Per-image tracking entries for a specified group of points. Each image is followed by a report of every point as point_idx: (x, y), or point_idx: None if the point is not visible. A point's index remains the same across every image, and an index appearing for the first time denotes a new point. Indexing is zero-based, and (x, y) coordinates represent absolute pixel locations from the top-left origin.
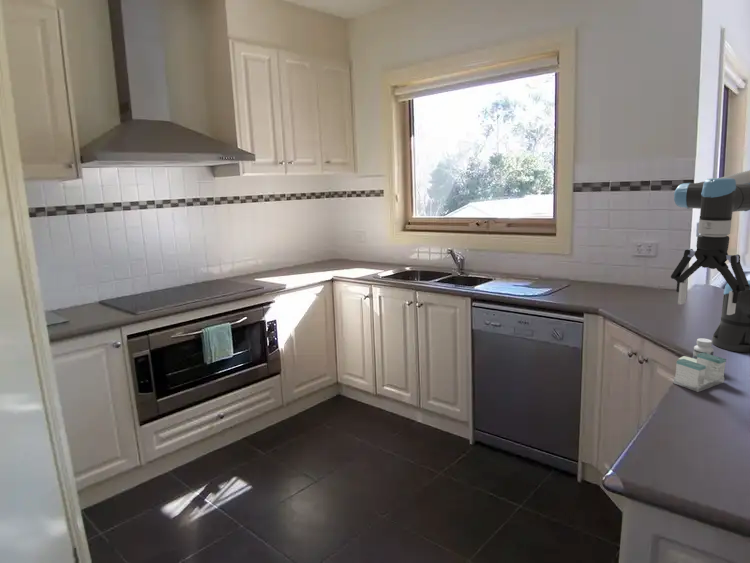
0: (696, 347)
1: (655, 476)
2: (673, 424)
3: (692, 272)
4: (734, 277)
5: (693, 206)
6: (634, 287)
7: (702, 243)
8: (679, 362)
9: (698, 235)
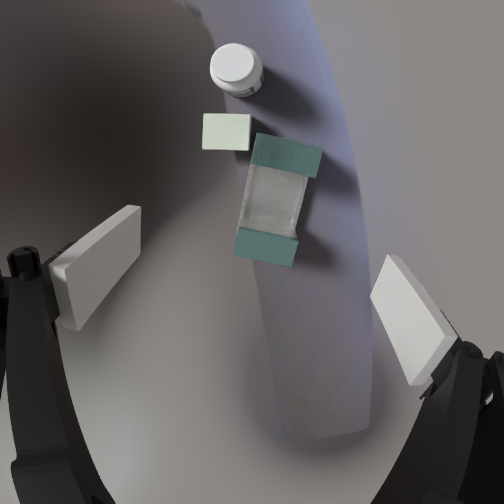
0: (220, 83)
1: (311, 432)
2: (296, 368)
3: (59, 384)
4: (475, 417)
5: None
6: None
7: None
8: (240, 255)
9: None
